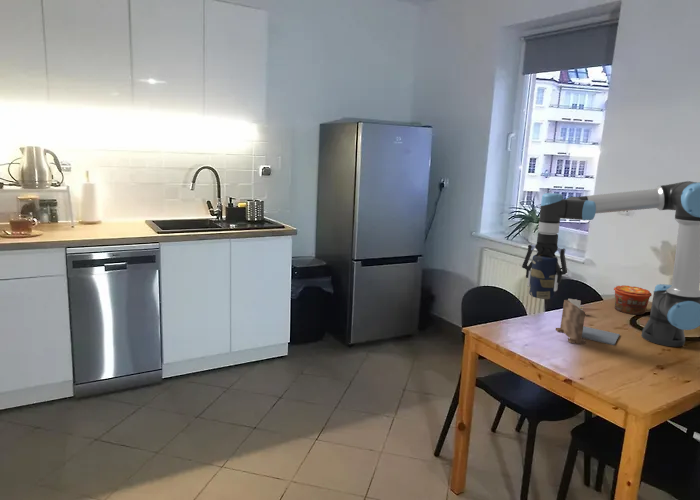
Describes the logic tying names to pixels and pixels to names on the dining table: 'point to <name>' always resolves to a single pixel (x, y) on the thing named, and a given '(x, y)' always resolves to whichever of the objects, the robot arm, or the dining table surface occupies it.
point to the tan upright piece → (572, 322)
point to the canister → (543, 277)
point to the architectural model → (576, 303)
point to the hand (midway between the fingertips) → (542, 288)
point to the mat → (599, 335)
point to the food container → (631, 299)
